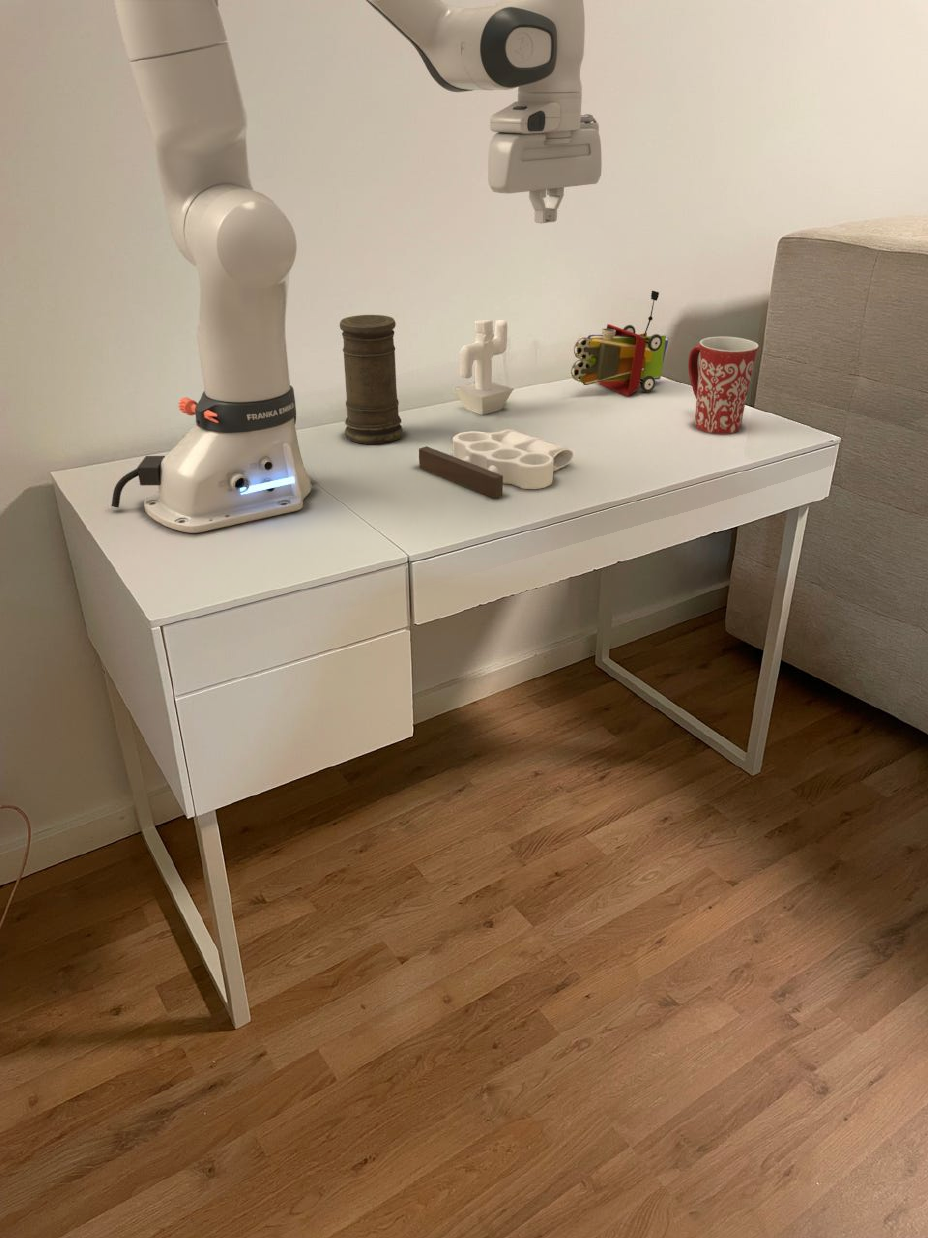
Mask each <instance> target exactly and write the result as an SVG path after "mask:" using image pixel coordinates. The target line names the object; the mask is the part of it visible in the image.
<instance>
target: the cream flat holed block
mask: <svg viewBox="0 0 928 1238" xmlns="http://www.w3.org/2000/svg"><path fill="white" fill-rule="evenodd" d="M452 456H453V457H456V458H458V459H461V460H464V461H466V462H469V463H471V464H474V465H477V466H479V467H482V468H484V469H487V470H489V471H492V472H495V473H497V474H500V475H502V476H503V484H508V485H512V486H516V487H519V488H520V489H523V490H540V489H544V488H547V487H549V486H550V485H551V484H552V483H553V480H554V472H557V471H558V470H560V469H562V468H564V467H566V466H567V465H569V463H571V462H572V460H573V458H574V452H573V450H571V449H570V448H569V447H566V446H563V445H562V446H560V445H557V444H554V443H551V442H548V441H546V440H543V439H542V438H540V437H534V436H531V435H528V434H525V433H522V432H519V431H518V430H515V429H513V428H511V429H503V430H500V431H497V432H485V431H476V430H475V431H473V430H472V431H463V432H459V433H457V434H455V435H454V436H453V437H452Z"/></svg>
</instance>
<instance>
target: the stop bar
mask: <svg viewBox="0 0 928 1238" xmlns="http://www.w3.org/2000/svg"><path fill="white" fill-rule="evenodd" d="M418 463H419V465H418V466H419V467H418V468H419V469H421V470H424V471H426V472H429V473H430V474H433V475H436V476H438V477H441V478H443V479H445V480H448V481H450V482H453V483H455V484H457V485H460V486H462V487H464V488H467V489H469V490H471V491H474V492H477V493H480V494H482V495H485V496H487V497H489V498H491V499H493V500H496V499H499V498H502V497H503V496H504V495H503V494H504V493H503V492H504V483H503V476H502V475H500V474H497V473H495V472H492V471H489V470H487V469H484V468H482V467H479V466H477V465H474V464H471V463H469V462H466V461H464V460H461V459H458V458H456V457H453V455H450V454H448V453H446V452H443V451H440V450H437V449H435V448H433V447H431V446H427V445H425V446H422V447H419V448H418Z"/></svg>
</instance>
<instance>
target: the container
mask: <svg viewBox="0 0 928 1238" xmlns="http://www.w3.org/2000/svg"><path fill="white" fill-rule="evenodd" d="M396 326H397V322H396V320H395V319H394V318H393V317H392V316H388V315H383V314H360V315H351V316H348V317H344V318H342V319H341V320H340V322H339V328H340V330H341V331H342V333H341V336H342V339H343V348H342V352H343V362H344V363H343V364H344V375H345V376H344V377H345V379H344V380H345V393H346V400H345V407H346V419H345V421H344V424H345V426H346V427H345V430H344V434H345V437H346V439H347V440H348V441H350V442H354V443H357V444H363V445H380V444H386V443H391V442H394V441H396V440H398V439H400V438H401V437H402V436H403V432H404V430H403V426H402V425H401V423H402V418H401V416H400V415H399V414H400V413H399V403H400V402H399V399H398V392H397V391H398V390H397V371H396V352H395V351H396V346H395V342H394V337H395V331H394V329H395V328H396Z"/></svg>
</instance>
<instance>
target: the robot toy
mask: <svg viewBox="0 0 928 1238" xmlns="http://www.w3.org/2000/svg"><path fill="white" fill-rule="evenodd" d="M659 296H660V291H656V290H651V293H650V300H652V301H653V302H652V306H651V311H650V315H649V316H648V318H647V319H648V322H647V325H646V328H645V330H644V333H639V334H638V333H636V328H635V327H634V326H633V324H627V325H626V326H624V327H623V328H621V327H617V326H615V325H612V324H609V323H607V324H606V327H605V328H602V329H601V334H590V335H588V336H587V337H586V336H585V337H584V336H583V337H581V338H579V339H578V340H577V341H576V342H575V343H574V347H573V354H574V356H575V358H576V359H578V360H575V362H574V363H573V365H572V366H571V370H570V375H571V377H572V379H573V380H574V381H577V382H578V383H581V384H583V386H589V385H593V384H597V383H598V384H599V385H602V386H604V387H606V388H608V389H610V390H613V391H614V392H617V393H619V394H621V395H623V396H625V397H630V396H631V395H632V394H633V393H635V392H637V391H639V388H640V387H641V390H642V391H643V392H645V393H650V392H651V391H653V390H654V388H655V386H656V380H660V379H661V378H662V371H663V368H664V367H663V366H664V363H665V357H666V354H667V348H668V345H669V344H668V343H669V337H667V335H666V334H665V335H660V334H658V333H655V334H653V335H649V336H648V329H649V326H650V323H651V321H653V310H654V304H655V301H658V299H659Z"/></svg>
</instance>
